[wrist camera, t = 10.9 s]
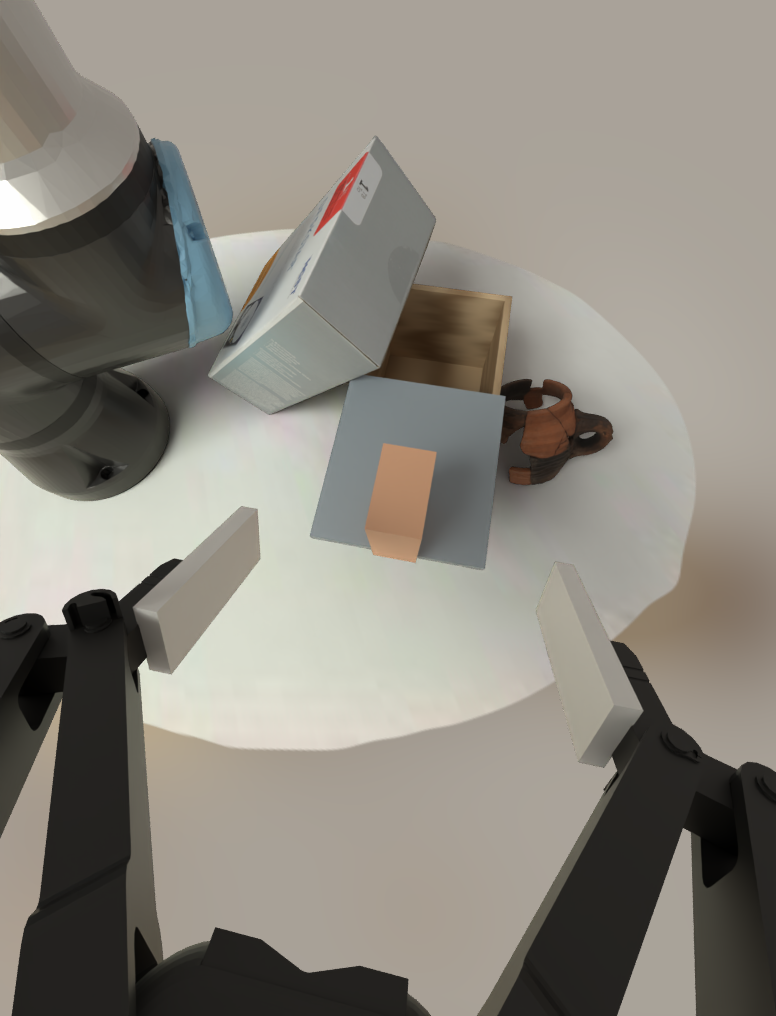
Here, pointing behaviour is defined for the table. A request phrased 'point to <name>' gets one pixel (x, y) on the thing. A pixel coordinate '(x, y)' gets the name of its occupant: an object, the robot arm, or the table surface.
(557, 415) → the pottery mug
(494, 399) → the lid
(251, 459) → the table surface
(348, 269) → the hard drive box
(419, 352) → the carton
